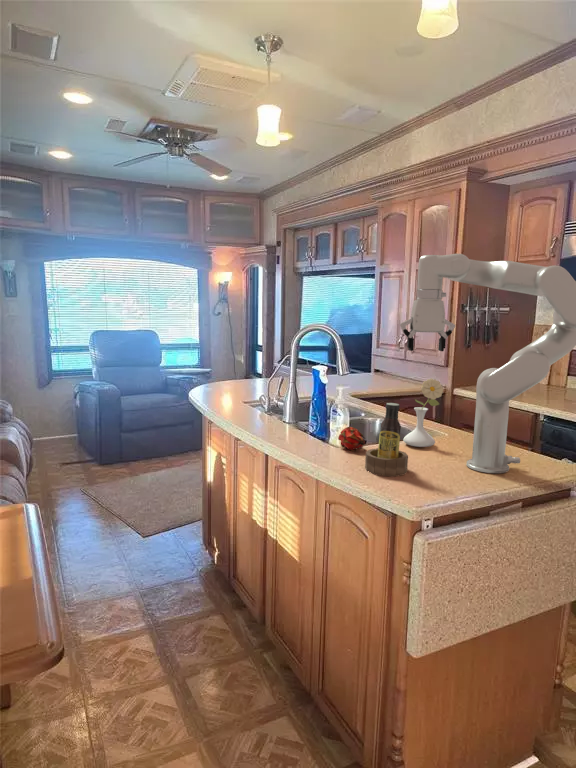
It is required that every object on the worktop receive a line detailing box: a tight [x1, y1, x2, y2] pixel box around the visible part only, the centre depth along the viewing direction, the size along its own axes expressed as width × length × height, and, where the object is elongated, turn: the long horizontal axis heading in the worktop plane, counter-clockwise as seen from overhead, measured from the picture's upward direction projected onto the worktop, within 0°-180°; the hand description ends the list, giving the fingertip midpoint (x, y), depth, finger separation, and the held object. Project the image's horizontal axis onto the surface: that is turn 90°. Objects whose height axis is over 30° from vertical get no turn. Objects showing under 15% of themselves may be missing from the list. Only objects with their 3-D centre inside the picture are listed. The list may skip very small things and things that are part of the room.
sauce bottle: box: [377, 402, 402, 459], centre depth 153 cm, size 7×6×20 cm
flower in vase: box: [402, 377, 444, 448], centre depth 182 cm, size 13×11×25 cm
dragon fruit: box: [337, 426, 368, 452], centre depth 177 cm, size 8×8×12 cm
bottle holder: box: [364, 447, 409, 477], centre depth 155 cm, size 12×12×5 cm
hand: (425, 350), depth 159 cm, fingers open, 9 cm apart
